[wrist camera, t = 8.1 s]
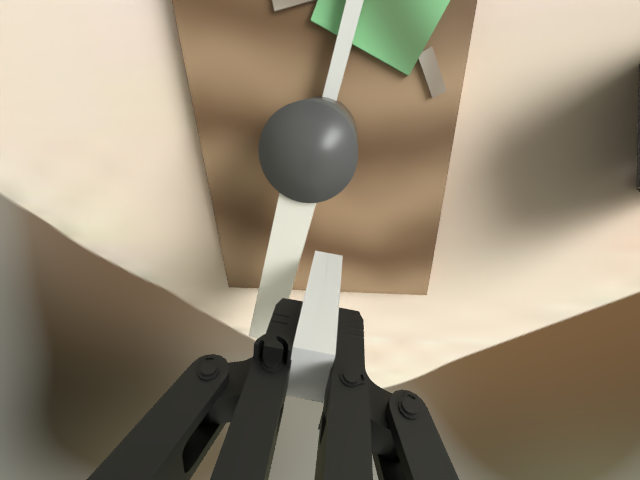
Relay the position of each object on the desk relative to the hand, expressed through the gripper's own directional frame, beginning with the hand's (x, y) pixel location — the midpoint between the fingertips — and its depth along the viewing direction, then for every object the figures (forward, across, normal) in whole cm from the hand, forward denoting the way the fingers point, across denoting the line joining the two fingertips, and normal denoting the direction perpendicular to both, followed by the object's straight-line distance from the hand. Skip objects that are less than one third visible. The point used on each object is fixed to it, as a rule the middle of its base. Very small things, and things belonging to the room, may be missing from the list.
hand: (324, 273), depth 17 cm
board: (+7, +2, -6) cm, 10 cm away
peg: (+6, +2, -5) cm, 8 cm away
